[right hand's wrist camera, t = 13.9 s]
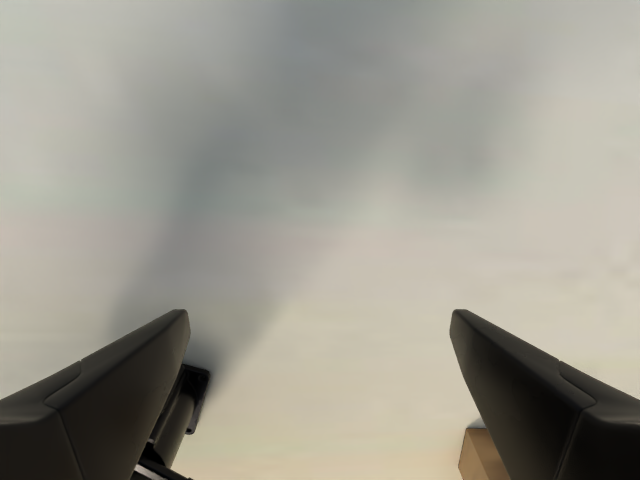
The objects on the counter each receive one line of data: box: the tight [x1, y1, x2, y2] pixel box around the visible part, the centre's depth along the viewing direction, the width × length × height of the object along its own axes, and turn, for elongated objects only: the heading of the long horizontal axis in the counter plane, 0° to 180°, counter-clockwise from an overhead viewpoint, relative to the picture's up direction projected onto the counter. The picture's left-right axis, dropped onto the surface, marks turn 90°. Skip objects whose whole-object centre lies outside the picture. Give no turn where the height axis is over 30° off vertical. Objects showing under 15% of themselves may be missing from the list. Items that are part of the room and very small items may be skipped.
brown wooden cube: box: [459, 429, 510, 480], centre depth 27 cm, size 4×5×5 cm
